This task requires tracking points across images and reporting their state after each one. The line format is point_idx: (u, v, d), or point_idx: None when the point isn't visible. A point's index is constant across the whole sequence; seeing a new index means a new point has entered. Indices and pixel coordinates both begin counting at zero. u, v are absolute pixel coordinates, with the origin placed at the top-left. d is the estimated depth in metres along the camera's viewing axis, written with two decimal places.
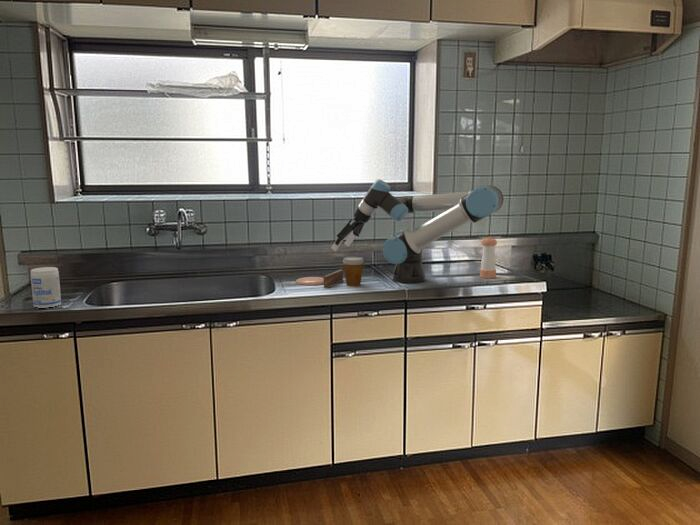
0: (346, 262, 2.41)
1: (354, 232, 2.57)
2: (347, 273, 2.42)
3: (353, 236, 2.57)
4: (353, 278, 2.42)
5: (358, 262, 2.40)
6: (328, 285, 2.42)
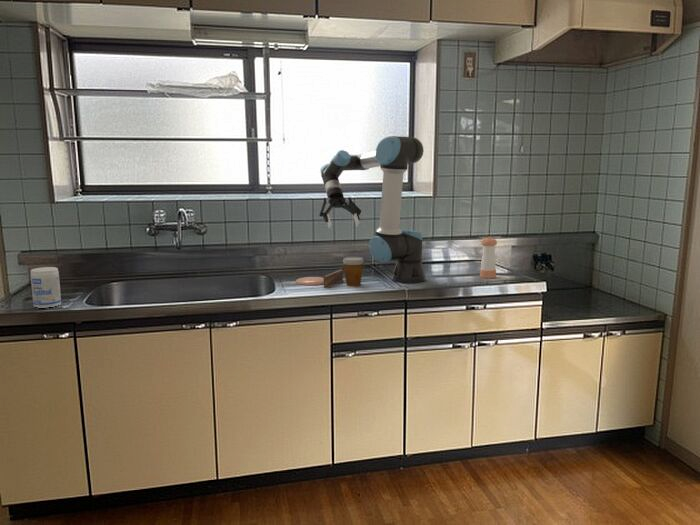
0: (346, 262, 2.41)
1: (354, 214, 2.61)
2: (347, 273, 2.42)
3: (354, 215, 2.59)
4: (353, 278, 2.42)
5: (358, 262, 2.40)
6: (328, 285, 2.42)
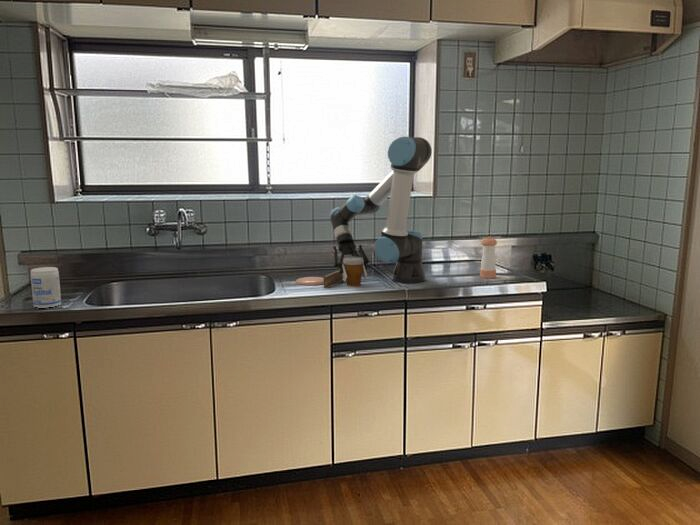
0: (346, 262, 2.41)
1: None
2: (347, 273, 2.42)
3: None
4: (353, 278, 2.42)
5: (358, 262, 2.40)
6: (328, 285, 2.42)
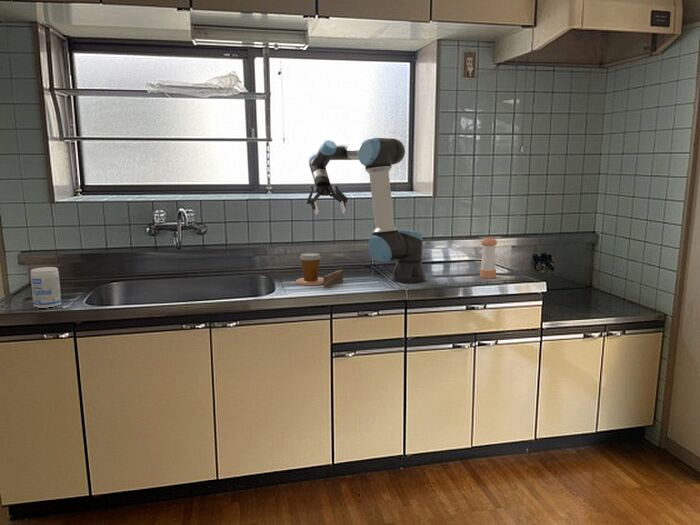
0: (303, 258, 2.48)
1: (341, 201, 2.70)
2: (304, 268, 2.50)
3: (341, 202, 2.68)
4: (309, 273, 2.49)
5: (314, 258, 2.48)
6: (328, 285, 2.42)
